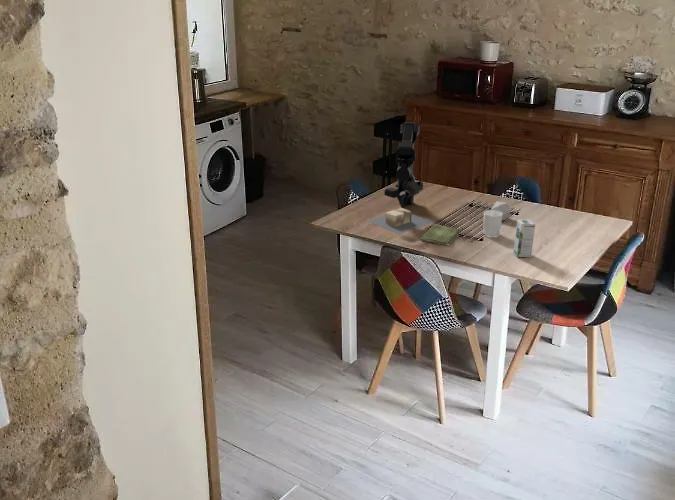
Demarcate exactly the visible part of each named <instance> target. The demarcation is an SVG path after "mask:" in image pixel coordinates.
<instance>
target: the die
mask: <svg viewBox="0 0 675 500" xmlns="http://www.w3.org/2000/svg"><path fill="white" fill-rule="evenodd" d="M490 210H496V211H500V212H502V213H503V215H502V221H503V220H505V221H506V220H507V219H508V217H509V215H510V213H511V208H510V206H509V203H508V202H504V201H497V200H496V201H495V202H494V204H493V205H492V207H491V209H490Z"/></svg>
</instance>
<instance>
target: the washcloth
mask: <svg viewBox="0 0 675 500" xmlns="http://www.w3.org/2000/svg"><path fill="white" fill-rule="evenodd" d="M459 233H460V228H456V227H451V226H444V225H442V224H437V223H433V225H431V227H430V228H429V229H428V230H427V231H426V232H425V233H424V234H423V235H422V236H421V238H420V241H422V242H424V241H428V242H427V243H431V242H433V243H432V244H437V245H438V244H439V245H444V244H449V245H450V244H451V243H453V242H454V241H455V239H456V238H457V237H458V235H459ZM456 236H457V237H456ZM453 240H454V241H453ZM449 245H448V246H449ZM451 245H452V244H451ZM451 245H450V246H451Z"/></svg>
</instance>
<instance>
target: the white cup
mask: <svg viewBox="0 0 675 500" xmlns="http://www.w3.org/2000/svg"><path fill="white" fill-rule="evenodd" d="M502 215H503V213H502V212H500V211H496V210H491V209H488V210H485V211H483V223H482V224H483V225H482V227H483V232H482V233H483V234H485V235H486V236H491V237H494V236H498V235H499V236H500V232H501V231H500V230H501V227H502V221H503V220H502ZM483 234H482V235H483ZM486 236H485V237H486ZM499 236H498V237H499ZM491 237H490V238H491Z"/></svg>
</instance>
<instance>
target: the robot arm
mask: <svg viewBox="0 0 675 500" xmlns="http://www.w3.org/2000/svg"><path fill="white" fill-rule="evenodd" d="M399 133H400V134H401V138H402V140H401V141H400V142H399V143H398V146H397V148H396V154H395V164H397V165H398V166H397V169H396V175H395V179H397V184H395V188H394V187H388V188H385V189H384V192H383V193H384V196H387V197H389V198H392V199H396V198H397V200H398V202H399V206H400V208H404V209H406V208H405V207H406V206H412V205H413V204H414V200H415V199H414V198H415V196H416V195H417V194H420V192H421V191H423V189H424V188H423V187H424V182H423V181H422V180H419V181H416V177H415V176H414V173H413V165H414V163H415V162H416V153H417V152H416V150H415V148H414V146H415V145H414V144H415V142H416V140H417V139H418V136H419V135H420V125H419V124H417V123H415V122H409V121H405V122H403V123H401V124H400V131H399Z"/></svg>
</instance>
